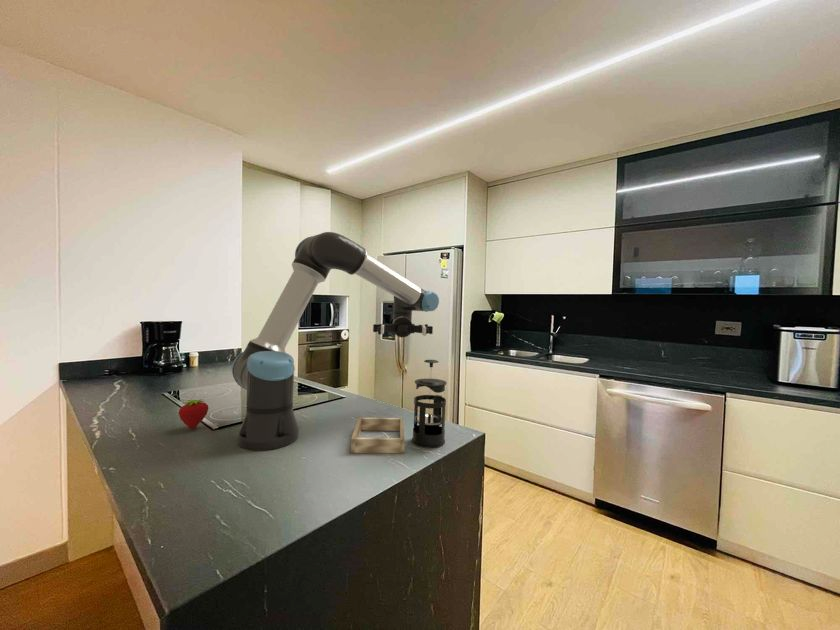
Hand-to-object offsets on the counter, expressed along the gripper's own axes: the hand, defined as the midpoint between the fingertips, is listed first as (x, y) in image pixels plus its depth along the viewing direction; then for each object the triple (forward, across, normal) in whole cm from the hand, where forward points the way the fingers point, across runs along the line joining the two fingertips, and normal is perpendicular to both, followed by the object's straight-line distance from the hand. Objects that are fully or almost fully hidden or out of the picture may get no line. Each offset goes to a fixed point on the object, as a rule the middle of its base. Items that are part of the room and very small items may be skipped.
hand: (403, 330), depth 107 cm
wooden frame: (+13, +6, -30) cm, 33 cm away
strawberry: (+6, +60, -30) cm, 67 cm away
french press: (+13, -8, -30) cm, 34 cm away
